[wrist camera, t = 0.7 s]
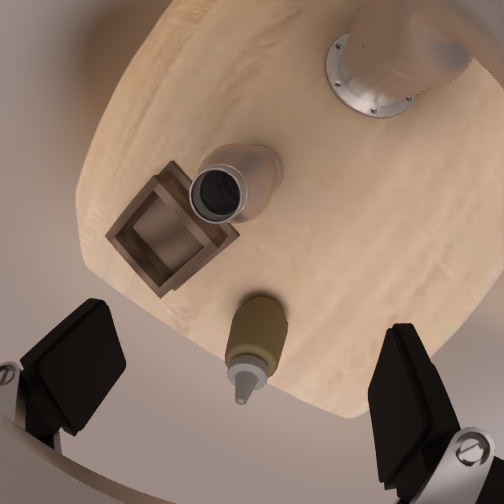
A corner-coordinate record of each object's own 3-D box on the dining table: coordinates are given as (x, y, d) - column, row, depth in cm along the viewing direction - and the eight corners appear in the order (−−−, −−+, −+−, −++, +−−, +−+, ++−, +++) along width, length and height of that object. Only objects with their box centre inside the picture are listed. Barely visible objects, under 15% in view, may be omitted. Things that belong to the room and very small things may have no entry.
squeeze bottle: (228, 314, 45) (191, 398, 28) (256, 279, 42) (228, 362, 25) (269, 341, 45) (250, 430, 29) (300, 308, 42) (295, 400, 26)
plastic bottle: (229, 188, 38) (162, 232, 19) (241, 139, 35) (178, 135, 17) (276, 201, 37) (251, 258, 19) (289, 152, 35) (278, 157, 16)
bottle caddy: (119, 223, 42) (97, 235, 37) (173, 160, 37) (153, 164, 32) (177, 288, 45) (161, 307, 39) (240, 234, 40) (229, 249, 34)
